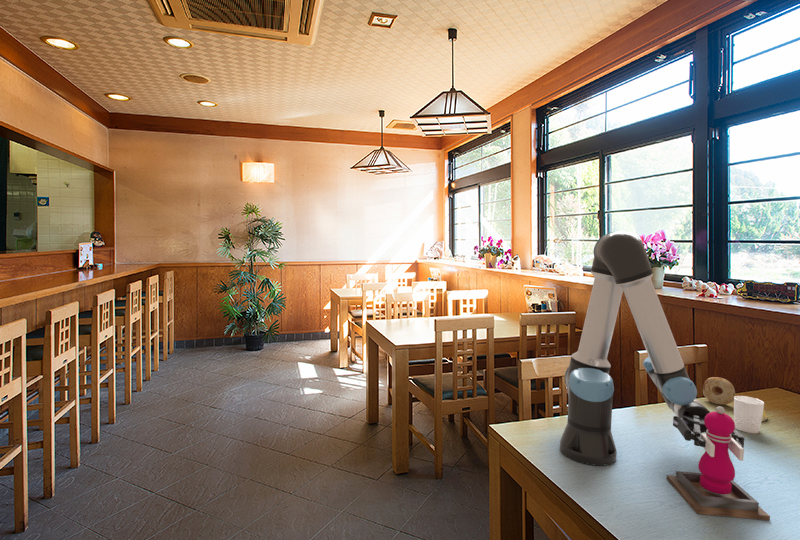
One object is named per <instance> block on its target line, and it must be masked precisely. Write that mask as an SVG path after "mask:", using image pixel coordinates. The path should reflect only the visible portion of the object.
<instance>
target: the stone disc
mask: <svg viewBox="0 0 800 540" xmlns="http://www.w3.org/2000/svg"><path fill="white" fill-rule="evenodd" d="M717 388H719V389H721V392H720V393H719V392H717V391H716V389H717ZM702 394H703V397H705V399H706V400H708V401H709V402H710V403H713V404H716V405H728V404H731V403H734V397H735V396H736V391H735V387H734V385H733V384H732V382H730V381H729V380H728V379H725V378H723V377H718V376H715V377H714V376H712V377H708V378H707V379H705V381H704V382H703V386H702Z"/></svg>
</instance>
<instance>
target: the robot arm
mask: <svg viewBox="0 0 800 540" xmlns="http://www.w3.org/2000/svg"><path fill="white" fill-rule="evenodd" d="M650 263H651V262H650V260H649V257H648V254H647V250H646V248H645V245H644V243H643V241H641V239H640V238H639V237H638V236H637V235H635V234H633V233H632V232H627V231H613V232H608V233H606V234H604V235H602V236H601V237H599V239H598V240H597V241H596V242H595V245H594V247H593V261H592V265H591V269H590V273H591V275H592V276H593V285H592V288H591V293H590V296H589V302H588V306H587V309H586V310H587V311H586V315H585V319H584V322H583V327H582V332H581V336H580V341H579V345H578V349H577V351H575V352H573V353H572V354H571V357H570V361H569V365H568V367H567V369H566V371H565V374H564V384H565V387H566V390H567V396H568V400H567V401H568V402H567V403H568V404H567V422H566V423H567V424H566V426H565V428H564V430H563V433H562V435H561V438H560V441H559V450H560V452H561V453H562V454H563V455H564V456H565V457H567V458H569V459H571V460H573V461H575V460H576V461H575V462H578V461H579V462H578V463H581V462H583V463H582V464H585V463H588V464H587V465H590V464H595V465H594V466H605V465H604V464H609V465H612V464H614V463H615V462H616V461H617V447H616V443H615V439H614V436H613V433H612V419H613V418H612V417H613V415H612V414H613V399H614V398H613V397H614V392H615V387H614V380H613V378H612V377H611V375H610V370H611V363H610V362H609V360H608V355H609V351H610V347H611V342H612V339H613V338H612V337H613V335H614V330H615V327H616V322H617V318H618V313H619V309H620V305H621V300H622V296H623V295H624V296H625V299H626V301H627V304H628V306H629V309H630V312H631V315H632V317H633V320H634V322H635V323H634V324H635V325H636V327H637V331H638V333H639V334H640V335H639V336H640V337H641V341H642V343H643V346H644V348H645V351H646V353H647V357H646V358H645V359H644V360H643V362H642V366H643V368H644V369H645V372H646V373H647V374H648V375H649V378H650V379H651V380H652V382H653V383H654V385H655V386H656V388H657V390H659V392H660V393H659V394H660V395H661V396H662V398H663V399H664V401H665V404H666V405H667V407H668V408H669V409H670V410H671V411H672V412H673V414H675V416H674V415H673V417H672V418H673V419H672V426H673V427H675V428H676V429H677V430H678V431H679V433H680V435H681V436H682V438H684V440H685V441H686V442H690V441H693V445H694V446H695V447H702V448H703V449H704V450H705V451H706V452H707V453H708V454H709V455H710V456H711V457H714V451H715V445H714V444H713V443H712V442H711V441H710V439H709V438H708V437H707V436H706V430H708V429H707V427H706V426H705V424H704V419H705V416H706V415H707V414H708V413H710V412H711V411H710V410H709V409H708V408H707V407H706V406H705V405H704V404H703V403H702V402H700V400H699V399H698V398H697V395H698V390H697V386H696V385H695V383H694V382H693V380H691V379H690V376H689V374H688V372H687V369H686V367H685V364H684V361H683V359H682V355H681V353H680V350H679V348H678V345H677V343H676V340H675V338H674V335H673V332H672V330H671V328H670V327H671V326H670V325H669V322H668V320H667V317H666V314H665V312H664V309H663V305H662V303H661V301H660V299H659V296H658V294H657V291H656V289H655V285H654V283H653V281H652V277H653V276H654V271H653V269H652V266H651V264H650ZM730 435H731V436H732V438H731V440H732V441H731V442H730V443H729V445H728V451H730V452H731V453H732V454H733V455H734V456H735V458H736V459H737V460H739V461H741V462H744V456H745V455H744V453H745V449H744V446H745V436H744V435H742V434H741V433H740V432H739V431H738V429H736V428H735V430H734V431H733V432H732V433H731V434H730ZM613 462H614V463H613ZM611 463H612V464H611Z"/></svg>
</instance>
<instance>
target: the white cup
mask: <svg viewBox="0 0 800 540" xmlns="http://www.w3.org/2000/svg"><path fill="white" fill-rule="evenodd" d="M764 407H765V402H764V401H763V400H761V399H759V398H755V397H752V396H747V395H746V396H745V395H735V397H734V401H733V421H734V423H735V429H736V430H737V431H738V430H739V431H741V432H744V433H748V434H759V433H760V432H761V430H760V429H761V425H762V422H763V421H762V415H763V410H764Z"/></svg>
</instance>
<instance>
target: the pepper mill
mask: <svg viewBox="0 0 800 540" xmlns="http://www.w3.org/2000/svg"><path fill="white" fill-rule="evenodd" d="M704 424H705V426H706V427H707V429H708V430H706V433H705V435H706V436H707V437H708V438H709V439H710V441H711V442H712V443H713V444H714V445H715V451H714V457H711V456H710V455H709V454H708V453H707V452H706V450H705V451H704V453H703V454H702V456H701V457H700V458H699V461H698V465H697V467H698V471H699V473H702V475H701V476H700V485H701V486H702V487H703V488H705V489H706V490H709V491H711V492H714V493H718V494H730V493H731V489H732V484H731V483H730V481H732V480H733V481H734V479H735V478H736V471H735V466H734V464H733V462H732V459H731V457H730V453H729V448H728V445H729V443H730V442H731V441H732V440H731V438H732V436H731V435H730V434H731V433H732V432H733V431H734V430H735V429H736V428H735V423H734V418H732V417H731V416H730V415H729V414H727V413H726V410H725V407H723V406H716V408H715V411H710V413H708V414H707V415H706V416H705V419H704Z"/></svg>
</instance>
